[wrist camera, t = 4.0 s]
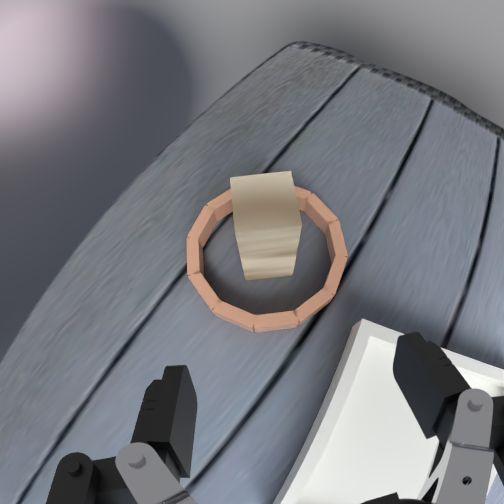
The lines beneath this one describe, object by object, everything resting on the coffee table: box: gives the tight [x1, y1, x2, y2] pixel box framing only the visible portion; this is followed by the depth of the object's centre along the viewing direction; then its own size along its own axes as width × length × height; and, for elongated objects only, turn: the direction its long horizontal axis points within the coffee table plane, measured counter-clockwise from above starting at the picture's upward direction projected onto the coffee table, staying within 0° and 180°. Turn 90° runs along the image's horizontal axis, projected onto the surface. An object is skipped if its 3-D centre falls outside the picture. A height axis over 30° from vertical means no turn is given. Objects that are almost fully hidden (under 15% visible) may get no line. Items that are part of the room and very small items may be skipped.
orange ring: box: [187, 186, 348, 333], centre depth 27 cm, size 13×13×2 cm
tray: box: [273, 319, 504, 504], centre depth 19 cm, size 18×18×3 cm
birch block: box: [230, 171, 302, 281], centre depth 24 cm, size 4×4×9 cm
